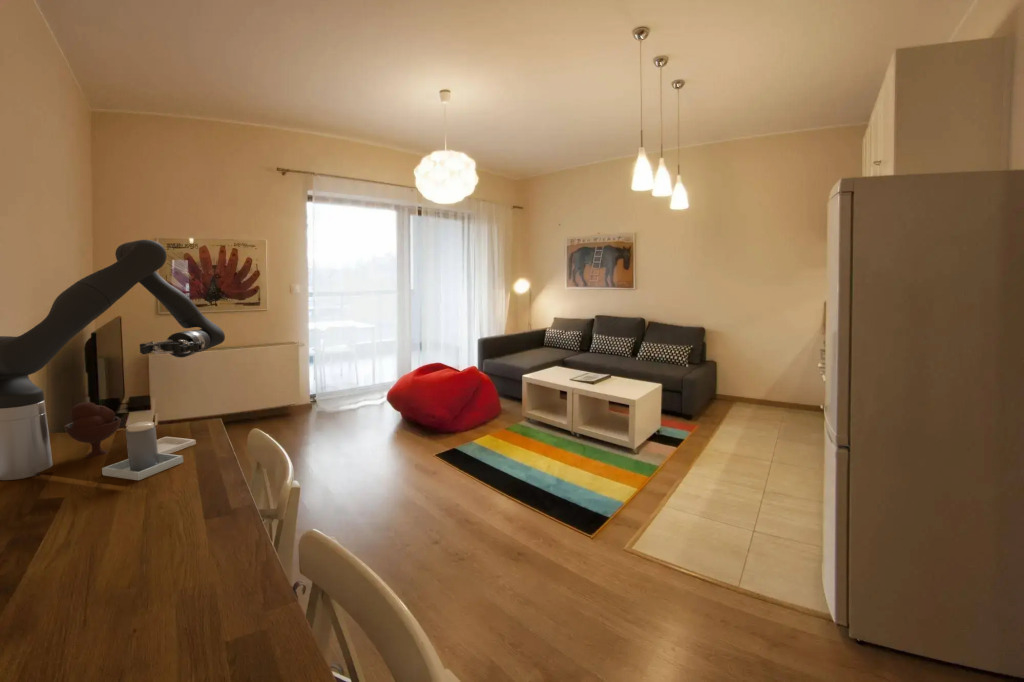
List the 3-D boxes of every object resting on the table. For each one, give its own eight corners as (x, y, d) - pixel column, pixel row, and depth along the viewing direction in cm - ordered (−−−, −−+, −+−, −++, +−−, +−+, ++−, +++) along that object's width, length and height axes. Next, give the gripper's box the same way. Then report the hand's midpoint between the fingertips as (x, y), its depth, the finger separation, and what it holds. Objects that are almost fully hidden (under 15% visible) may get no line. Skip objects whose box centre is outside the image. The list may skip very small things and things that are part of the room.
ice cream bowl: (99, 465, 114) (92, 407, 112) (56, 464, 115) (49, 406, 113) (134, 449, 125) (129, 396, 123) (95, 449, 125) (89, 396, 123)
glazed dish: (102, 478, 107) (101, 468, 106) (150, 460, 117) (149, 451, 117) (138, 483, 104) (137, 473, 104) (183, 465, 115) (182, 455, 114)
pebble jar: (123, 471, 109) (119, 427, 107) (147, 462, 114) (143, 420, 113) (141, 473, 107) (137, 429, 106) (164, 464, 113) (160, 422, 111)
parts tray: (129, 456, 120) (128, 449, 120) (167, 443, 130) (166, 436, 130) (159, 460, 118) (158, 453, 117) (196, 446, 128) (195, 439, 127)
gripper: (158, 331, 136) (129, 336, 120) (212, 331, 140) (190, 336, 124) (159, 356, 137) (131, 364, 121) (213, 355, 141) (192, 363, 125)
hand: (161, 350), depth 123 cm, fingers open, 8 cm apart
